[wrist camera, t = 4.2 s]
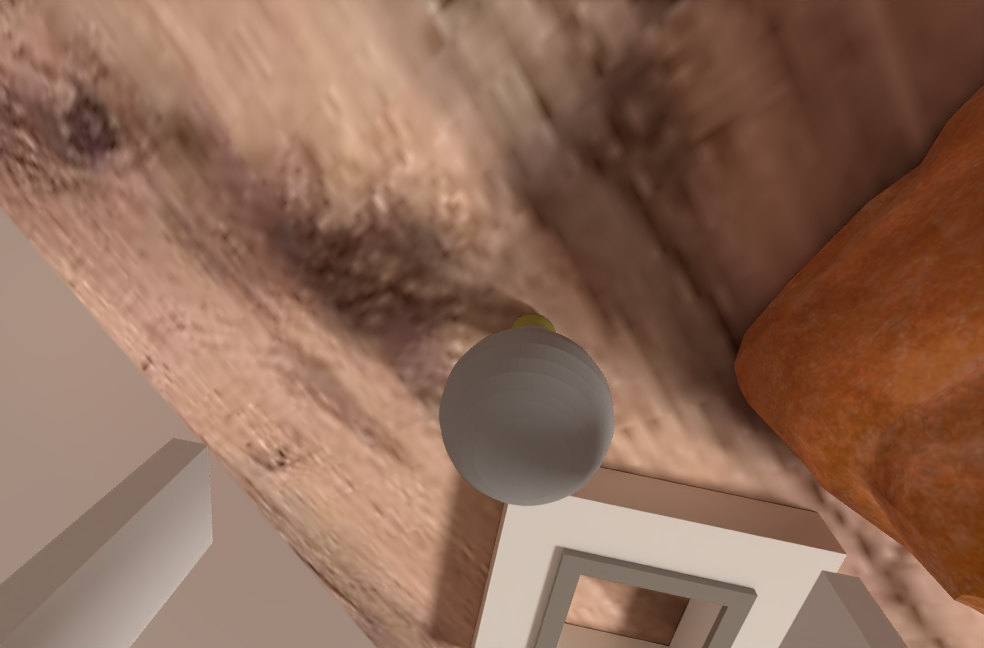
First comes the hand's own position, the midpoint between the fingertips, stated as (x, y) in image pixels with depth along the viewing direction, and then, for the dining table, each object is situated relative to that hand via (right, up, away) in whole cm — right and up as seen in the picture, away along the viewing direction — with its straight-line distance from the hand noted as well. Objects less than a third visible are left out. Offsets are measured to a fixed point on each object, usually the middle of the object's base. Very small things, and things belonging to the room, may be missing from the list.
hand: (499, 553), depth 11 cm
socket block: (+7, -10, +17) cm, 21 cm away
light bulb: (+2, +5, +12) cm, 13 cm away
